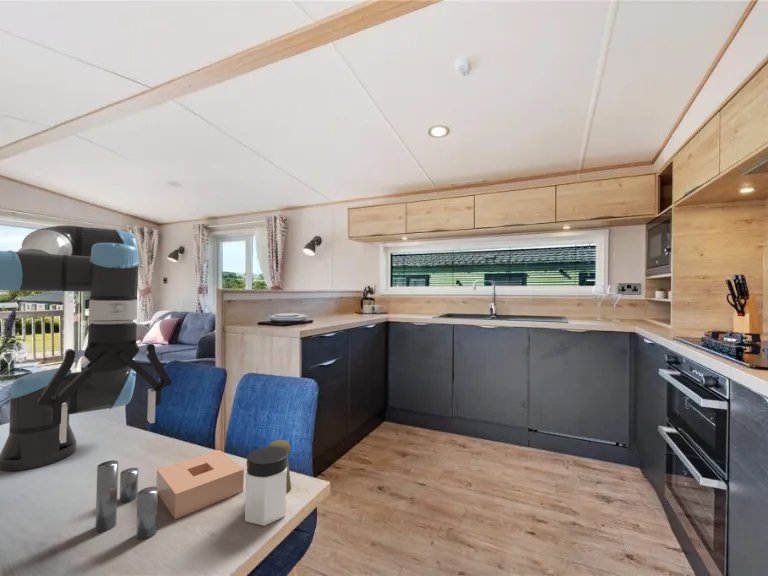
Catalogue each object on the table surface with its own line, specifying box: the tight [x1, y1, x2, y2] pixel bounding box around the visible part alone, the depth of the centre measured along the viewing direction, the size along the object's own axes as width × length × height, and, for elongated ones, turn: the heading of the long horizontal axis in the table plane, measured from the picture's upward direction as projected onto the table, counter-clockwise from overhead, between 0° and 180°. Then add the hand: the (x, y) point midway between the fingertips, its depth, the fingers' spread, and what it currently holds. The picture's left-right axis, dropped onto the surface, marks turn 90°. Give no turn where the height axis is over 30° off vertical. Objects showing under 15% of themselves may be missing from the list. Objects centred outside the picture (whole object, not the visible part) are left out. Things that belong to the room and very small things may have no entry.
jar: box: [244, 446, 289, 527], centre depth 72 cm, size 9×8×12 cm
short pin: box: [119, 467, 139, 504], centre depth 76 cm, size 3×3×6 cm
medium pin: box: [135, 486, 159, 541], centre depth 65 cm, size 3×3×8 cm
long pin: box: [94, 459, 119, 533], centre depth 67 cm, size 3×3×12 cm
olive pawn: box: [267, 439, 292, 494], centre depth 80 cm, size 6×6×11 cm
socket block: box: [155, 449, 245, 520], centre depth 79 cm, size 14×14×5 cm
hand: (110, 430), depth 67 cm, fingers open, 13 cm apart
